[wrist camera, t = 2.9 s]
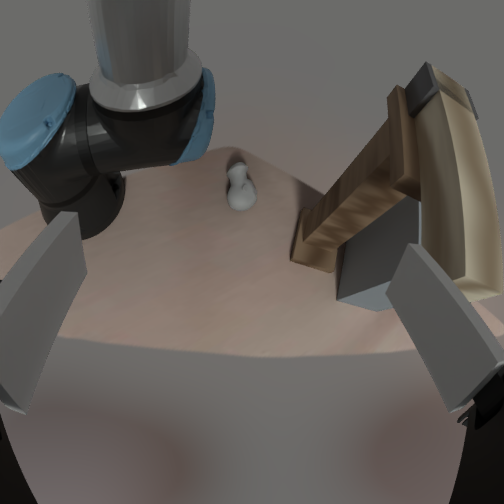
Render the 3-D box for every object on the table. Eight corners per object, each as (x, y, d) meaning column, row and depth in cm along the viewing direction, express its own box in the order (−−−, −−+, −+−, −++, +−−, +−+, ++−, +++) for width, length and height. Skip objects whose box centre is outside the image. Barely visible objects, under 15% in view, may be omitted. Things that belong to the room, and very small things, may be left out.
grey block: (336, 300, 46) (417, 270, 27) (346, 238, 50) (418, 183, 31) (376, 311, 47) (463, 288, 28) (384, 252, 50) (461, 207, 32)
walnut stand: (287, 272, 46) (404, 173, 18) (300, 211, 50) (396, 84, 22) (327, 285, 47) (468, 210, 19) (338, 224, 50) (452, 118, 22)
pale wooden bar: (411, 289, 16) (458, 273, 12) (404, 89, 22) (425, 61, 18) (463, 307, 16) (507, 295, 12) (445, 114, 22) (468, 91, 19)
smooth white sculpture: (251, 217, 49) (222, 212, 47) (249, 175, 51) (222, 169, 49) (264, 207, 45) (233, 202, 43) (262, 163, 48) (233, 156, 45)
